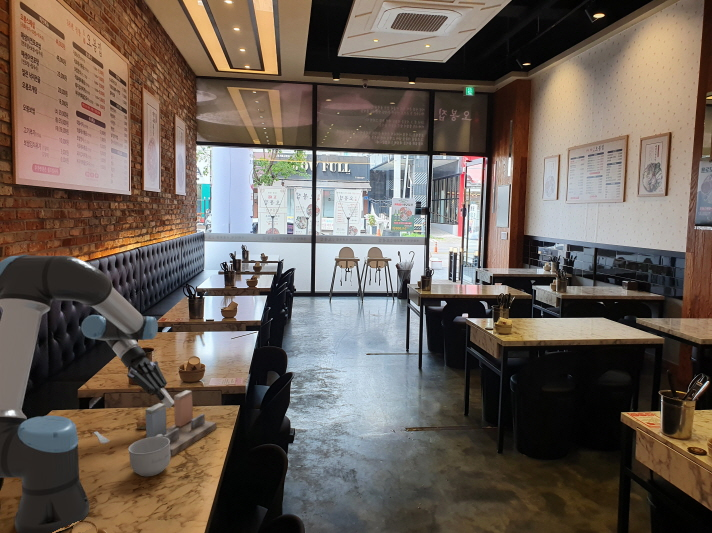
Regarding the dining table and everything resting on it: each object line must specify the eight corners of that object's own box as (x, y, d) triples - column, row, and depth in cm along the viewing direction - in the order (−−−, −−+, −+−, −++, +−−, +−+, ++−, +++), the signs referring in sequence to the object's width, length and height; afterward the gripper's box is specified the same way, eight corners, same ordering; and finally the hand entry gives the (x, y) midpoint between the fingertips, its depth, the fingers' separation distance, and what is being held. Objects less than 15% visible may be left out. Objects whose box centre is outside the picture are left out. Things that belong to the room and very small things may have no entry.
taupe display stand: (172, 456, 157) (172, 440, 157) (140, 450, 161) (139, 434, 161) (216, 428, 178) (216, 413, 177) (186, 423, 182) (186, 409, 181)
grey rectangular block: (153, 442, 161) (152, 410, 160) (146, 441, 162) (145, 409, 161) (166, 434, 167) (165, 404, 166) (160, 433, 168) (159, 403, 167)
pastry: (147, 432, 175) (146, 420, 175) (131, 429, 177) (130, 418, 177) (166, 421, 184) (166, 411, 183) (151, 419, 186) (150, 408, 186)
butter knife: (101, 444, 165) (111, 441, 167) (78, 421, 183) (88, 419, 185) (101, 445, 165) (111, 442, 167) (79, 422, 183) (88, 420, 185)
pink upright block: (181, 426, 173) (180, 396, 172) (174, 425, 174) (173, 395, 173) (192, 419, 179) (192, 391, 178) (186, 418, 180) (185, 390, 179)
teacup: (157, 482, 142) (156, 454, 141) (120, 478, 144) (119, 450, 143) (184, 459, 155) (183, 432, 155) (150, 455, 158) (149, 429, 157)
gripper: (137, 354, 189) (177, 405, 185) (109, 364, 177) (151, 419, 173) (149, 341, 187) (190, 392, 183) (121, 349, 175) (164, 405, 171)
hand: (171, 405), depth 178 cm, fingers closed
